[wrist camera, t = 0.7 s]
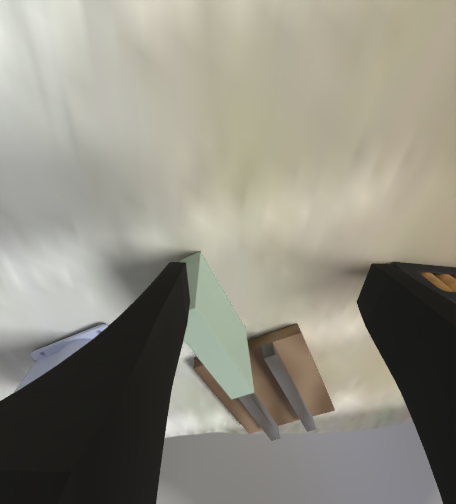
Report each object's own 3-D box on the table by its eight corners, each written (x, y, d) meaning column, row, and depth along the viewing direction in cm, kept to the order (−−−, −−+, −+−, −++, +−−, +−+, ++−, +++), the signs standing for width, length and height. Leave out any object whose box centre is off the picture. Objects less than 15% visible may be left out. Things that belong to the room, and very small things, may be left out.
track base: (248, 424, 36) (250, 446, 33) (194, 358, 28) (192, 381, 26) (331, 400, 34) (339, 422, 31) (297, 323, 26) (305, 345, 24)
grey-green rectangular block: (227, 332, 27) (231, 399, 20) (180, 259, 22) (166, 318, 16) (245, 326, 26) (254, 392, 20) (200, 250, 21) (194, 308, 15)
